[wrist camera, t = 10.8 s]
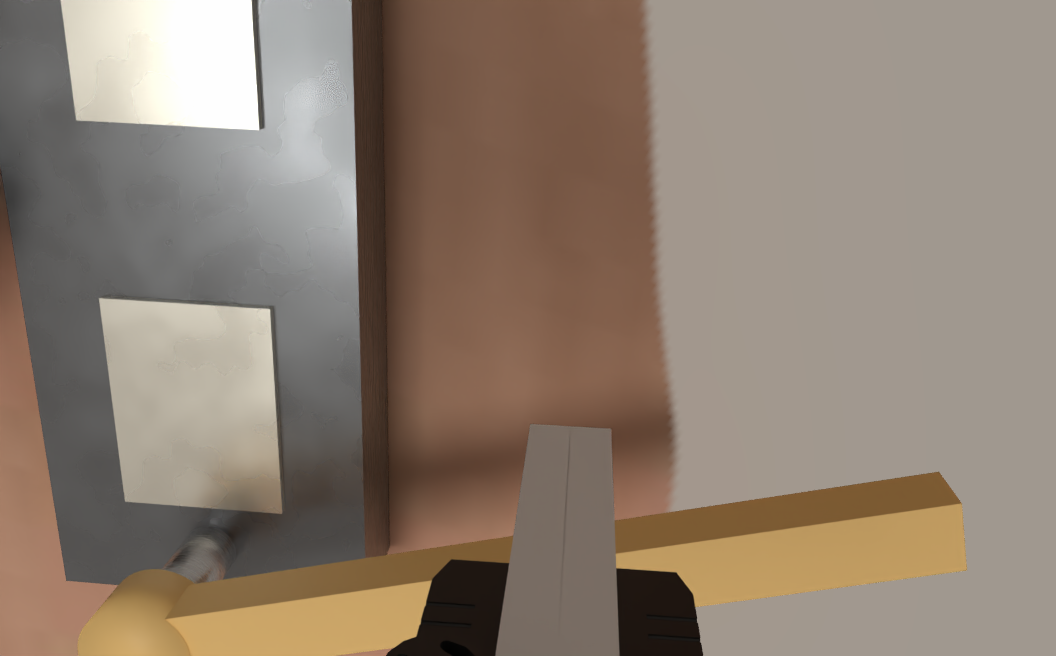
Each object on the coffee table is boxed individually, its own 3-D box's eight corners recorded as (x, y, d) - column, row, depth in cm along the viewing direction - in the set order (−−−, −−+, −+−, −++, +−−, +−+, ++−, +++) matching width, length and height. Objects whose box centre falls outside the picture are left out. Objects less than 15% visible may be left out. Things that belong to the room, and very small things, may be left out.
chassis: (10, -280, 29) (-179, -372, 22) (377, -270, 28) (303, -362, 21) (117, 525, 39) (11, 639, 32) (389, 547, 38) (341, 668, 31)
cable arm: (134, 662, 32) (102, 709, 29) (97, 577, 30) (60, 618, 28) (943, 550, 28) (970, 595, 26) (934, 447, 26) (962, 485, 24)
